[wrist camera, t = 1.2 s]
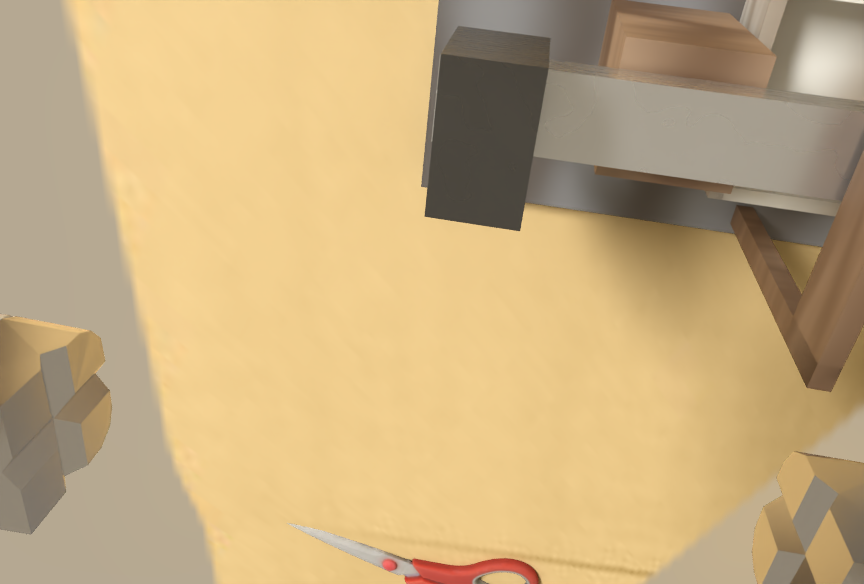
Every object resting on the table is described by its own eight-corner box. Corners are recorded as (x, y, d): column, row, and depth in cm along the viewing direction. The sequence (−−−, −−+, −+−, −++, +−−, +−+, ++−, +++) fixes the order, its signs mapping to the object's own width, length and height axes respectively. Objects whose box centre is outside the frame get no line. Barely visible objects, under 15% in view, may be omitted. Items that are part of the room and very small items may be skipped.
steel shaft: (434, 153, 27) (409, 214, 23) (448, 15, 25) (423, 51, 20) (1003, 236, 26) (1100, 320, 21) (1081, 98, 23) (1213, 157, 19)
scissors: (271, 504, 54) (264, 520, 52) (554, 561, 52) (554, 579, 51) (271, 571, 58) (265, 587, 56) (534, 626, 56) (534, 643, 55)
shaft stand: (424, 179, 38) (361, 325, 26) (456, -156, 30) (388, -166, 18) (909, 251, 36) (1082, 445, 24) (1077, -87, 28) (1455, -47, 16)
